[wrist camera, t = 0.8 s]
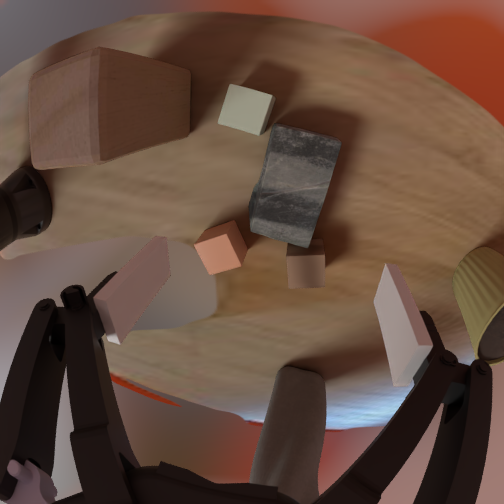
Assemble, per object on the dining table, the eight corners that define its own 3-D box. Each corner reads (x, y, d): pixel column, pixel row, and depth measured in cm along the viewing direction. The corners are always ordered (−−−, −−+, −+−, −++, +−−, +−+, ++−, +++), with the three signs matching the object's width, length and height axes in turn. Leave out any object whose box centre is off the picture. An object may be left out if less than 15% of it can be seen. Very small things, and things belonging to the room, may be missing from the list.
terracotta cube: (218, 258, 44) (209, 275, 40) (205, 230, 42) (193, 244, 38) (248, 249, 42) (241, 266, 38) (234, 219, 41) (226, 233, 36)
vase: (297, 398, 58) (283, 517, 32) (257, 375, 56) (229, 506, 30) (338, 377, 53) (339, 511, 27) (299, 350, 51) (284, 504, 24)
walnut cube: (290, 269, 43) (288, 288, 39) (288, 240, 41) (286, 256, 36) (323, 268, 42) (325, 287, 38) (322, 238, 40) (325, 254, 35)
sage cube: (228, 122, 34) (217, 123, 30) (238, 87, 32) (229, 83, 27) (264, 133, 34) (258, 135, 30) (276, 98, 32) (272, 95, 27)
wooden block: (131, 77, 32) (25, 74, 15) (194, 68, 31) (101, 42, 14) (131, 140, 37) (29, 173, 19) (192, 137, 36) (101, 167, 18)
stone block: (247, 217, 40) (239, 232, 36) (270, 119, 33) (265, 119, 29) (307, 234, 40) (307, 251, 35) (337, 137, 33) (342, 141, 28)
